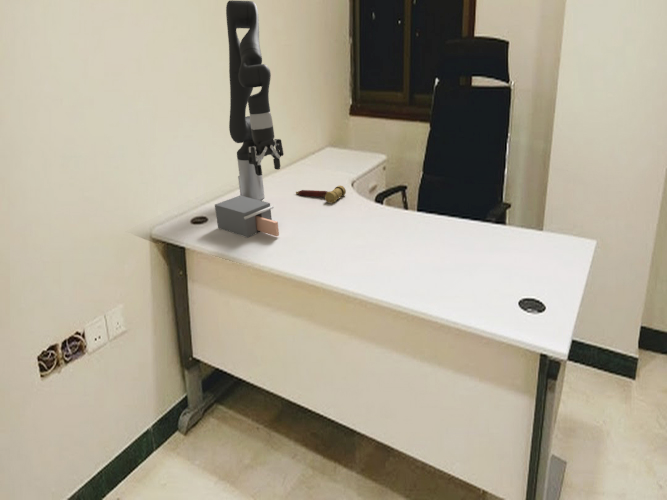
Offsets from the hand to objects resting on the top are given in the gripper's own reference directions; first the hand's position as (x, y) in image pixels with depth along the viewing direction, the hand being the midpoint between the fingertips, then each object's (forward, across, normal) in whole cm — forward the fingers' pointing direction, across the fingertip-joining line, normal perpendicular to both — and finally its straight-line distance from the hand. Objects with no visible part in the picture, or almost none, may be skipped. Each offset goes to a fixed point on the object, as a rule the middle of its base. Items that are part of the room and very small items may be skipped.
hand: (268, 172), depth 199 cm
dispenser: (+19, +9, -7) cm, 22 cm away
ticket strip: (+19, +9, -2) cm, 21 cm away
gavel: (+20, -31, -8) cm, 38 cm away
